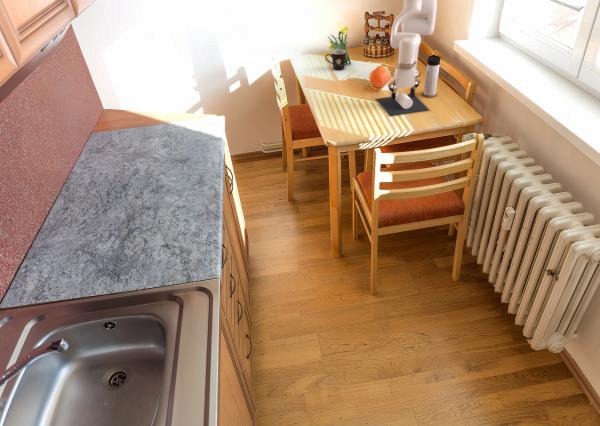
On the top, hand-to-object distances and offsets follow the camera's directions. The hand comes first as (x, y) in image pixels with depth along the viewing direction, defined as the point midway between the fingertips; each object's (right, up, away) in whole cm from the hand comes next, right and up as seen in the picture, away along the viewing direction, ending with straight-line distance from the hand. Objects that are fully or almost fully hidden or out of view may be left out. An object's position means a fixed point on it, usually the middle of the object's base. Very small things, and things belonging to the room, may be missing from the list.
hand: (402, 98), depth 227 cm
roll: (0, -3, +2) cm, 3 cm away
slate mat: (0, -3, +2) cm, 4 cm away
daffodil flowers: (-25, +42, +61) cm, 78 cm away
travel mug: (+16, +4, +10) cm, 19 cm away
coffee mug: (-30, +30, +47) cm, 63 cm away
